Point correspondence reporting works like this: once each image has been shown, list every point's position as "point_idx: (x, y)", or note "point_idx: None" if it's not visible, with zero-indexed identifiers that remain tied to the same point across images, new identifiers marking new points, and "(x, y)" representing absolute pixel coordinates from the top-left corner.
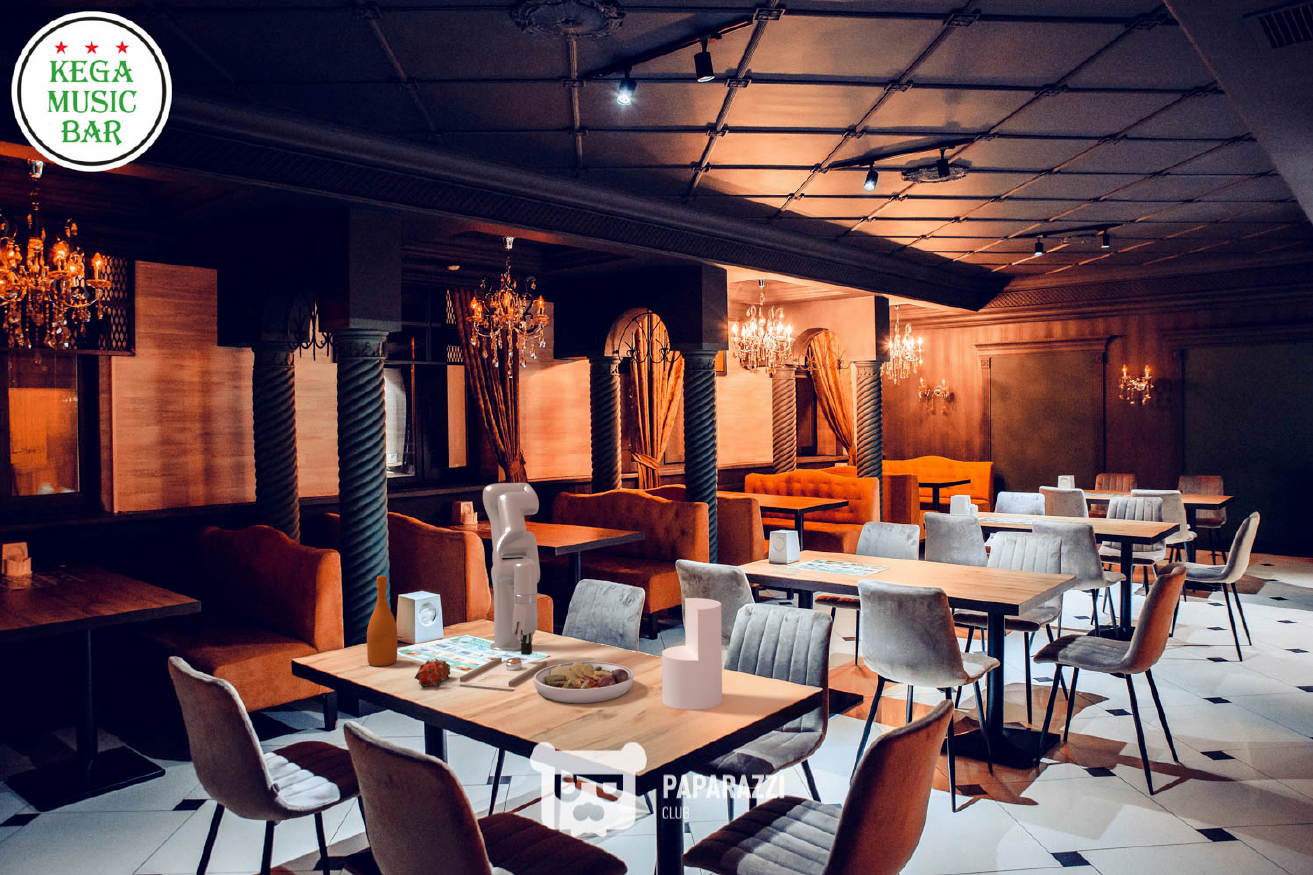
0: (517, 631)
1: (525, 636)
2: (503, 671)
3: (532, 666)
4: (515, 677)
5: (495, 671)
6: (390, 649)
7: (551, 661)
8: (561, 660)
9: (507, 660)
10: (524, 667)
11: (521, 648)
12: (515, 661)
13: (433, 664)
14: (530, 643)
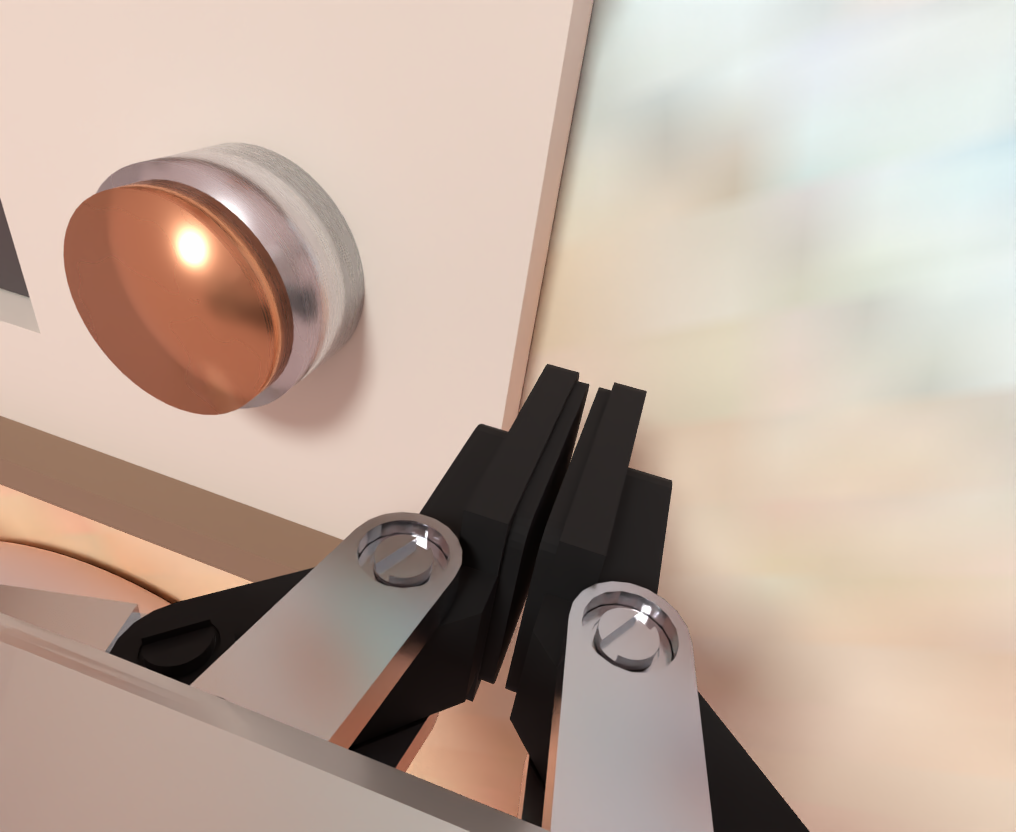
0: (55, 787)
1: (582, 754)
2: (107, 145)
3: (422, 474)
4: (17, 358)
5: (51, 7)
6: None
7: (926, 623)
8: (961, 719)
9: (75, 213)
10: (358, 388)
11: (513, 428)
12: (113, 352)
13: None
14: (513, 682)
